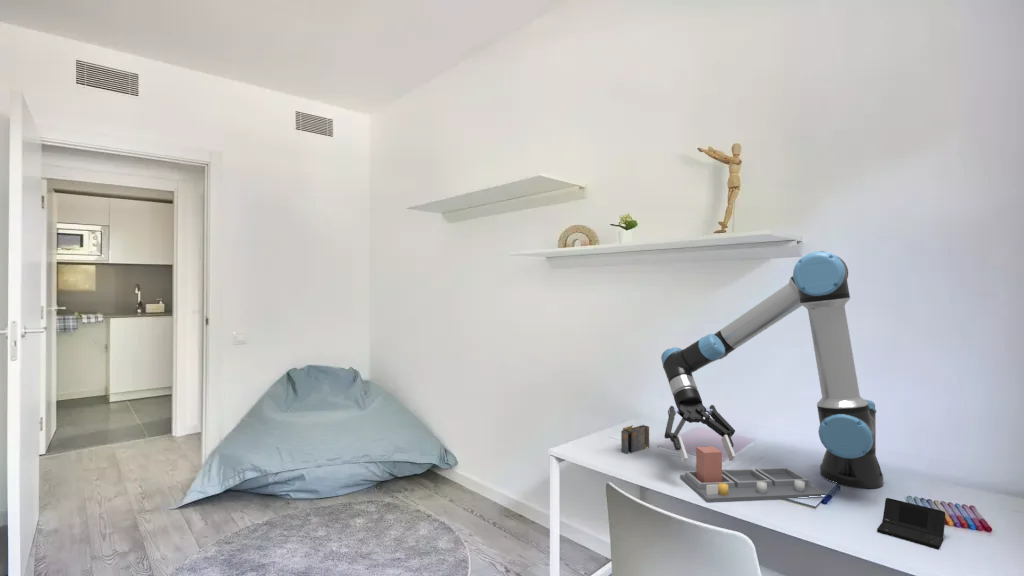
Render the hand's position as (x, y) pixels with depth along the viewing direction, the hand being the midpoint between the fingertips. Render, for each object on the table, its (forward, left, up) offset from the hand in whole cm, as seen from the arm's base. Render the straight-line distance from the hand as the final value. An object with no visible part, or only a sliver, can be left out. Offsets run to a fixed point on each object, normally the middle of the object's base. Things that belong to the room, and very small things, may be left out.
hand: (709, 459), depth 143 cm
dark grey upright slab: (+10, -33, -8) cm, 35 cm away
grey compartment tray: (-11, +2, -7) cm, 13 cm away
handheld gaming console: (-32, +30, -8) cm, 45 cm away
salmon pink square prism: (0, 0, -6) cm, 6 cm away
